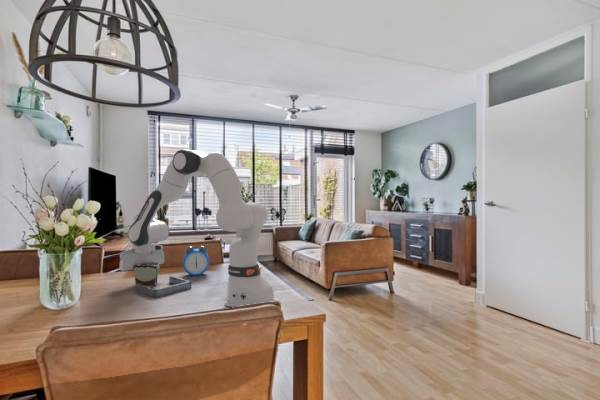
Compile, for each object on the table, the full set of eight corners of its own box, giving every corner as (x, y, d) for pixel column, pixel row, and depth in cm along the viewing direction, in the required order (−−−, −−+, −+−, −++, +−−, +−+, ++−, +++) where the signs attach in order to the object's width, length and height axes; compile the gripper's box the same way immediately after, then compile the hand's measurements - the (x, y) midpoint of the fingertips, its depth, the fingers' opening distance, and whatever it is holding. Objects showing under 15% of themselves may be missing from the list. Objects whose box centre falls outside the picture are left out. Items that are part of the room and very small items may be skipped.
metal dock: (191, 287, 143) (191, 281, 143) (155, 297, 129) (154, 290, 129) (171, 281, 152) (171, 275, 152) (135, 290, 138) (135, 283, 138)
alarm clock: (182, 277, 161) (182, 247, 160) (183, 274, 167) (183, 245, 166) (209, 275, 165) (209, 246, 165) (209, 272, 171) (209, 244, 170)
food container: (165, 283, 150) (165, 262, 150) (158, 286, 144) (157, 264, 144) (140, 282, 152) (140, 261, 151) (132, 285, 146) (132, 264, 145)
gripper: (123, 251, 141) (123, 282, 141) (166, 245, 157) (166, 273, 158) (116, 250, 145) (117, 280, 145) (159, 244, 161) (159, 271, 161)
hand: (143, 276), depth 151 cm, fingers closed
